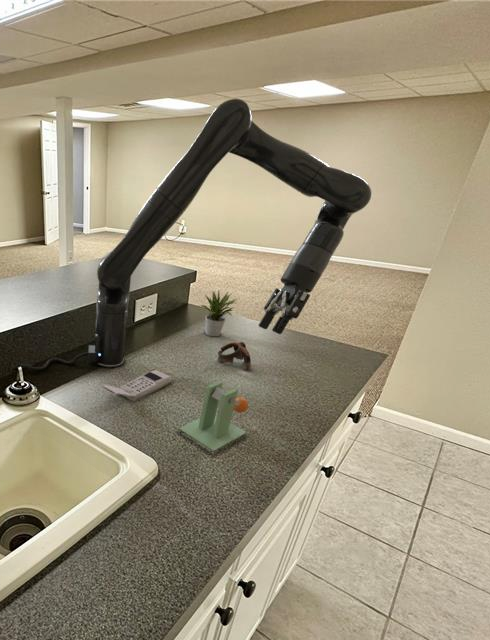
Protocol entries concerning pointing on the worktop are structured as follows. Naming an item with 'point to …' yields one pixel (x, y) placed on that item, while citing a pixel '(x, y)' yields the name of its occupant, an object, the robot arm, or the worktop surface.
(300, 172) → the robot arm
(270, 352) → the worktop surface
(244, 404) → the switch lever
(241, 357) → the brown curved piece
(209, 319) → the house plant
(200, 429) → the power switch
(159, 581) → the worktop surface
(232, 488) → the worktop surface
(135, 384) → the mobile phone
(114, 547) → the worktop surface
